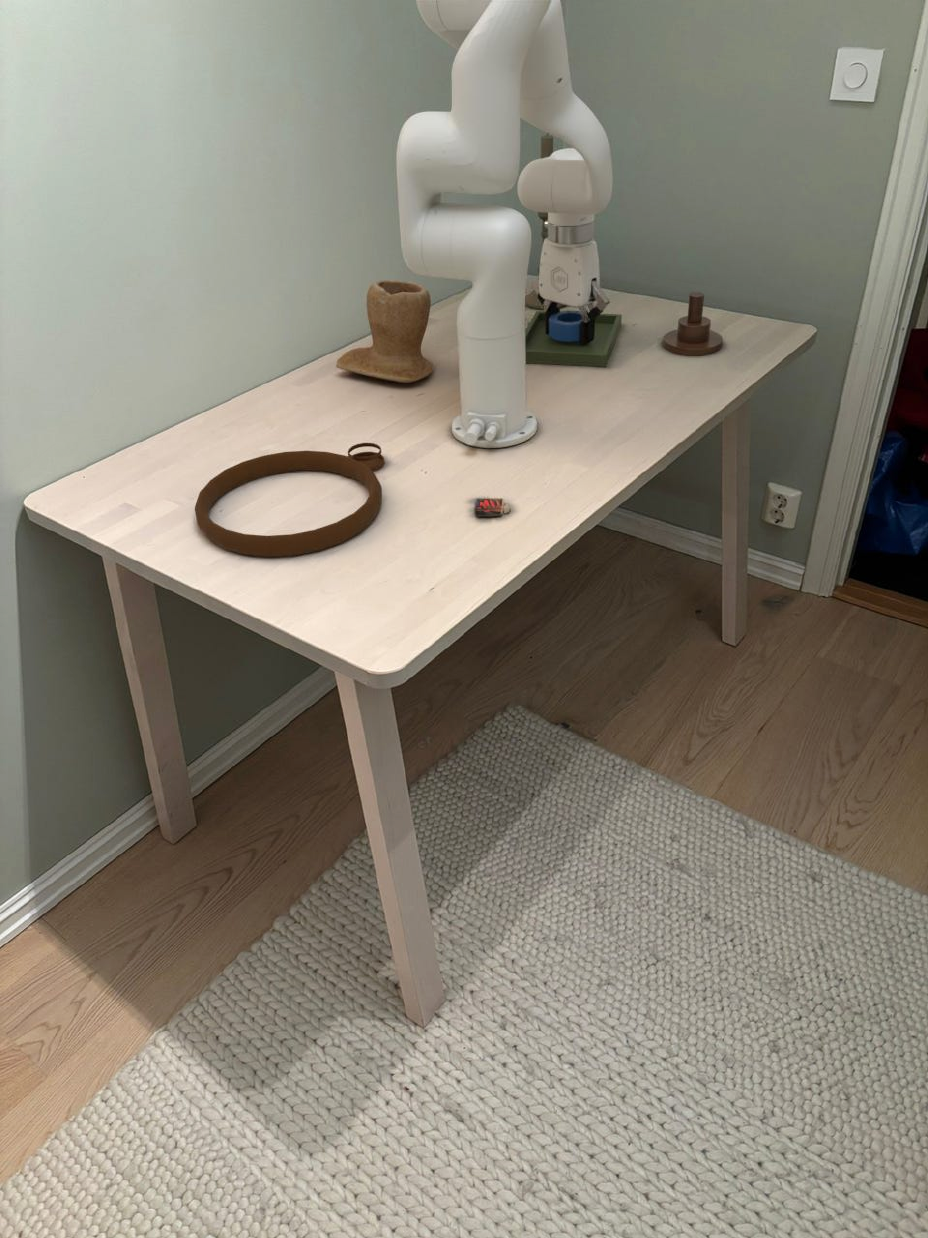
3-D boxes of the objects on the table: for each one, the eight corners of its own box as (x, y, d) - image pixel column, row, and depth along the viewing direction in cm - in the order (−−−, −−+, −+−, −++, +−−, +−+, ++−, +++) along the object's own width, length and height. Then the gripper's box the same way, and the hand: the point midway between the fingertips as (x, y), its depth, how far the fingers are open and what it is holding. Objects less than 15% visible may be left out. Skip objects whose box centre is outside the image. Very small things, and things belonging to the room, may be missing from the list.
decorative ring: (444, 456, 136) (293, 559, 117) (445, 476, 138) (296, 580, 119) (310, 419, 148) (152, 506, 129) (313, 437, 150) (158, 526, 131)
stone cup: (449, 368, 169) (444, 278, 161) (408, 393, 161) (401, 300, 153) (378, 353, 176) (369, 266, 168) (335, 377, 168) (324, 287, 160)
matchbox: (476, 519, 128) (476, 516, 128) (469, 500, 132) (469, 497, 132) (512, 515, 128) (512, 511, 128) (504, 496, 132) (504, 492, 132)
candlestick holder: (546, 313, 189) (547, 139, 171) (513, 302, 195) (510, 133, 177) (580, 300, 193) (584, 130, 176) (546, 290, 199) (546, 124, 182)
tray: (605, 367, 166) (606, 354, 165) (513, 362, 170) (513, 350, 169) (621, 325, 182) (621, 314, 180) (536, 321, 185) (536, 310, 184)
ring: (586, 342, 172) (587, 325, 170) (546, 340, 173) (546, 323, 171) (592, 327, 177) (593, 311, 175) (553, 326, 179) (553, 309, 177)
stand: (720, 357, 167) (726, 305, 162) (660, 354, 170) (663, 303, 165) (723, 335, 175) (729, 285, 170) (665, 333, 178) (669, 283, 172)
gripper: (516, 228, 168) (518, 332, 178) (598, 246, 158) (595, 355, 168) (545, 218, 172) (545, 320, 183) (627, 234, 162) (622, 342, 172)
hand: (569, 336), depth 175 cm, fingers closed on ring, 7 cm apart
